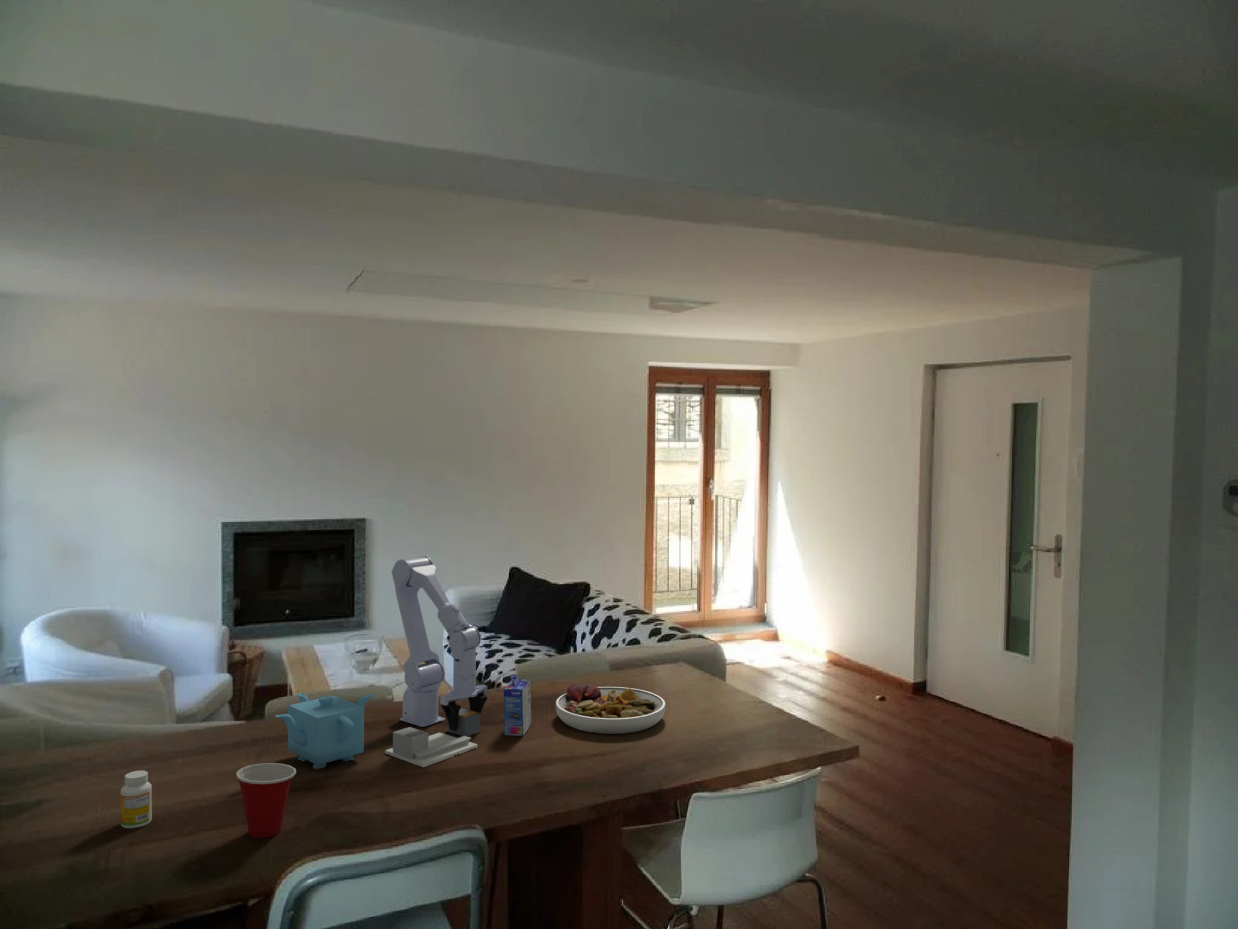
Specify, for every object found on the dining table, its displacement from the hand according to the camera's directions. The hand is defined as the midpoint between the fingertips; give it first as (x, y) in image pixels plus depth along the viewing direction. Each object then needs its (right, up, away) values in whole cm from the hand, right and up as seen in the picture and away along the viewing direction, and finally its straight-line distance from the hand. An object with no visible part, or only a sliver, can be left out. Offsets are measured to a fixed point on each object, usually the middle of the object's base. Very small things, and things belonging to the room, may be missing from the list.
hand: (464, 726), depth 230 cm
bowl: (+38, -2, +12) cm, 40 cm away
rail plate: (-5, -2, -14) cm, 15 cm away
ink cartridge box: (+14, -2, +2) cm, 14 cm away
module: (0, -2, 0) cm, 2 cm away
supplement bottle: (-54, -3, -56) cm, 78 cm away
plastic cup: (-28, -3, -59) cm, 66 cm away
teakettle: (-30, -2, -20) cm, 36 cm away
